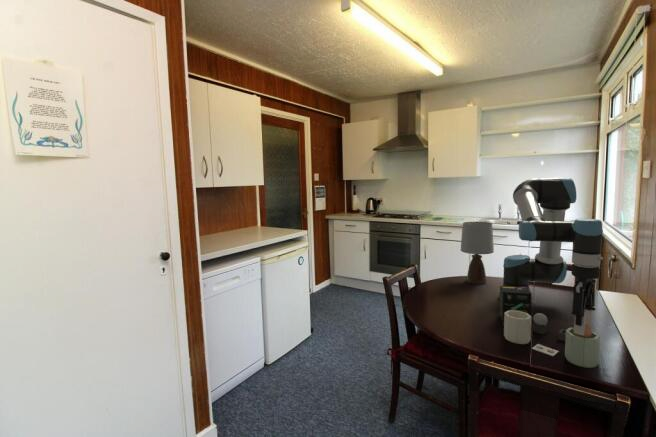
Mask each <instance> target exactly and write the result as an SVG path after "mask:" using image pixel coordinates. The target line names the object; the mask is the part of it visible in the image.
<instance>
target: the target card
mask: <svg viewBox="0 0 656 437" xmlns="http://www.w3.org/2000/svg"><path fill="white" fill-rule="evenodd" d="M531 350H534V351H537V352H539V353H542V354H544V355H545V354H546V355H548V356H551V357H554V356H556V355H557V354H558V353H559V352H560V351H559V350H556V349H553V348H550V347H548V346H545V345H543V344H540V343H537V344H536V345H534V346H533V347H531Z"/></svg>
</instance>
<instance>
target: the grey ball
mask: <svg viewBox="0 0 656 437" xmlns="http://www.w3.org/2000/svg"><path fill="white" fill-rule="evenodd" d="M532 321H533V322H534V323H536V324H537V325H539V326H544V325H548V324H547V323H548V317H547V316H546V314H544V313H540V312H537V313H535V314H534V315H533V318H532Z"/></svg>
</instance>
